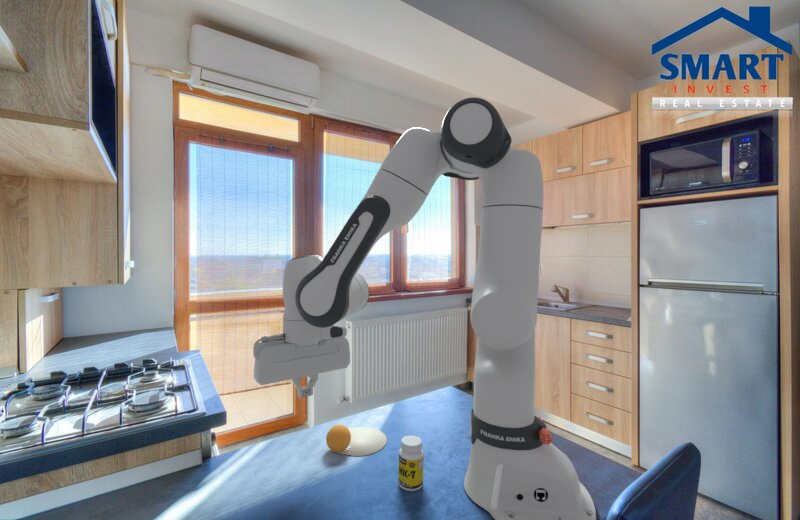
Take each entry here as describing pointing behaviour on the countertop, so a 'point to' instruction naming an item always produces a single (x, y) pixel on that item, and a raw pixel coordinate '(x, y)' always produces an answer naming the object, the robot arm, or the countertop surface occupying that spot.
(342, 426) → the ball
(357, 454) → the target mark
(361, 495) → the countertop surface
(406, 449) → the supplement bottle
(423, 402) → the countertop surface
